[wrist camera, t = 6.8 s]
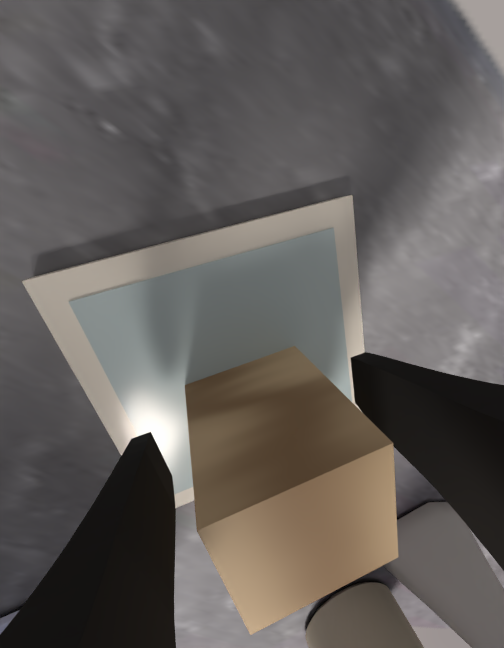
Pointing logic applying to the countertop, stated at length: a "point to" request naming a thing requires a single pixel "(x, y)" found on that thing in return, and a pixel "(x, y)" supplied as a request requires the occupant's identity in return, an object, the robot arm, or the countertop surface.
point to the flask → (450, 573)
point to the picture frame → (205, 317)
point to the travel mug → (361, 620)
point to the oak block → (287, 485)
